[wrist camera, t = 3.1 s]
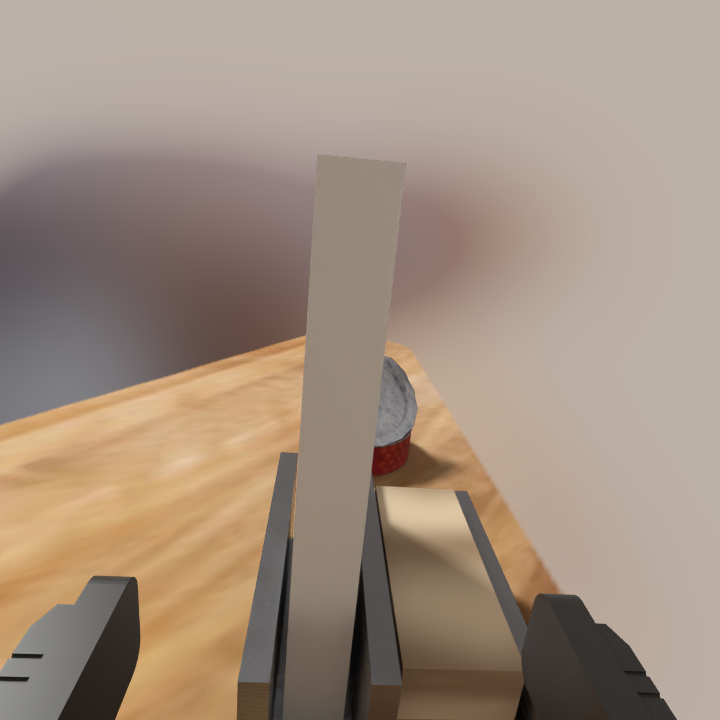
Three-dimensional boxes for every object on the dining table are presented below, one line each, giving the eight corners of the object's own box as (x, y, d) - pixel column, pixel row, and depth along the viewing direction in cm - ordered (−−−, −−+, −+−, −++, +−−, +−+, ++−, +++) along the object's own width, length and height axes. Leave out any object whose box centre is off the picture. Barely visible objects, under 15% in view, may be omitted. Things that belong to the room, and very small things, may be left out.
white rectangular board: (342, 726, 22) (406, 163, 15) (281, 726, 21) (317, 154, 14) (339, 573, 30) (378, 171, 23) (295, 571, 30) (322, 165, 23)
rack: (542, 836, 20) (587, 689, 17) (234, 836, 19) (237, 681, 16) (453, 563, 34) (472, 463, 32) (275, 556, 33) (280, 452, 31)
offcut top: (514, 720, 20) (526, 671, 19) (395, 718, 19) (403, 668, 19) (447, 525, 31) (453, 489, 30) (371, 522, 31) (375, 485, 30)
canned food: (398, 485, 51) (459, 416, 47) (338, 521, 43) (405, 442, 39) (327, 405, 55) (376, 334, 51) (259, 424, 47) (312, 342, 43)
